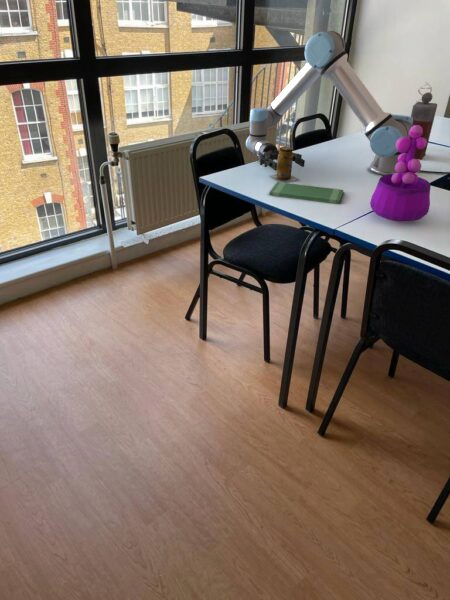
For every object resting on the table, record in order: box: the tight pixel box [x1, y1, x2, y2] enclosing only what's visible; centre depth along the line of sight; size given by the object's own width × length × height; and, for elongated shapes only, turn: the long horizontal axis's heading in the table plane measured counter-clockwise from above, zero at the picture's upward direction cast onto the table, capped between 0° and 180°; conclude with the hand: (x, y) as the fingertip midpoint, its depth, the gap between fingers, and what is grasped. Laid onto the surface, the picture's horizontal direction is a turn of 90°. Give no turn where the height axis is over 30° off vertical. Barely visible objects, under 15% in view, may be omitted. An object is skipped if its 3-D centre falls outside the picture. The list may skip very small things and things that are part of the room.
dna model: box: [414, 81, 433, 104], centre depth 224 cm, size 7×6×30 cm
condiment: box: [272, 146, 298, 183], centre depth 186 cm, size 7×8×12 cm
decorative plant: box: [369, 125, 431, 223], centre depth 148 cm, size 19×18×30 cm
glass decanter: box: [406, 91, 438, 161], centre depth 212 cm, size 9×11×28 cm
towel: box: [269, 181, 344, 205], centre depth 174 cm, size 26×12×1 cm, turn 71°
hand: (290, 165), depth 183 cm, fingers open, 12 cm apart
